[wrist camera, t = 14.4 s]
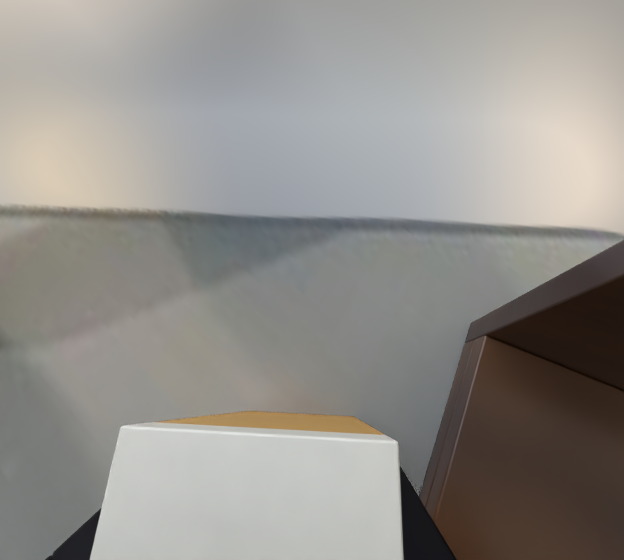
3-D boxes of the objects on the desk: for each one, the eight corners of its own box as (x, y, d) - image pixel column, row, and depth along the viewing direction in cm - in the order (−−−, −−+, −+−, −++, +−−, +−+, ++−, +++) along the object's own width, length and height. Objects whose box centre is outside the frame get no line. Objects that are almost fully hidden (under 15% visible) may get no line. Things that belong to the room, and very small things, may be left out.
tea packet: (354, 533, 12) (416, 841, 4) (235, 524, 12) (34, 789, 4) (354, 416, 13) (399, 441, 5) (247, 410, 14) (119, 425, 5)
